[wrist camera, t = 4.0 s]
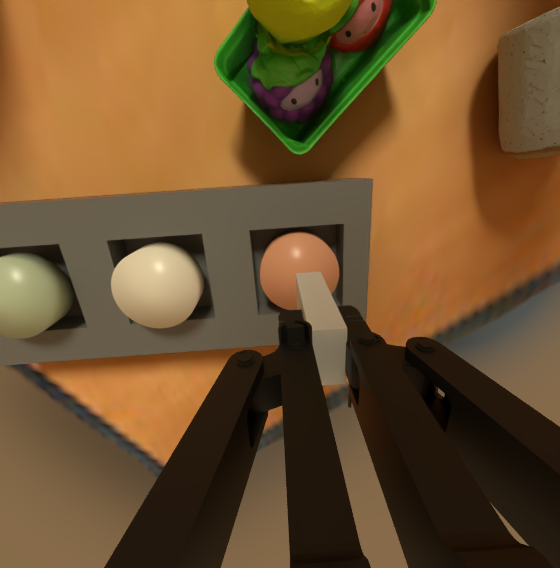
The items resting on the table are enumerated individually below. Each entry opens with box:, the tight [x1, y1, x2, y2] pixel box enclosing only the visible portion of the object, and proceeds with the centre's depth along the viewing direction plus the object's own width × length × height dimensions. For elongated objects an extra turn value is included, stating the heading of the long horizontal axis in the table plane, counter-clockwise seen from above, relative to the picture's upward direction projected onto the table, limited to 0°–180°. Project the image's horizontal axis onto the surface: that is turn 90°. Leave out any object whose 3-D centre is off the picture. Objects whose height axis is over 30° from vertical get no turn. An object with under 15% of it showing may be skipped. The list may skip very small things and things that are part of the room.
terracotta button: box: [260, 230, 339, 310], centre depth 23 cm, size 6×6×2 cm
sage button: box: [0, 252, 74, 339], centre depth 22 cm, size 6×6×2 cm
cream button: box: [111, 242, 205, 328], centre depth 22 cm, size 6×6×2 cm
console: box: [0, 178, 373, 366], centre depth 24 cm, size 13×32×4 cm, turn 94°
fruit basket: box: [214, 0, 437, 155], centre depth 16 cm, size 11×9×11 cm
